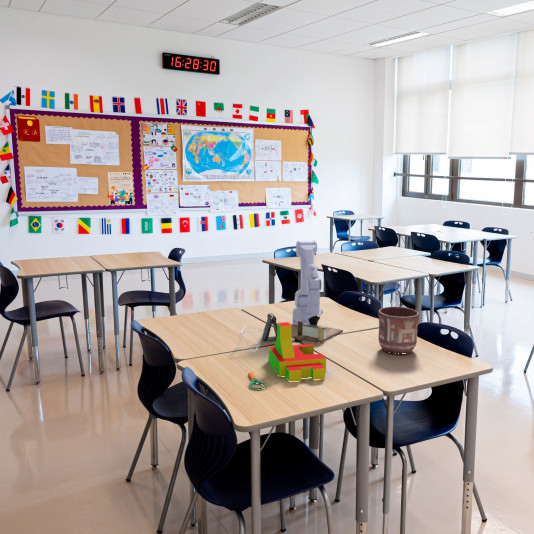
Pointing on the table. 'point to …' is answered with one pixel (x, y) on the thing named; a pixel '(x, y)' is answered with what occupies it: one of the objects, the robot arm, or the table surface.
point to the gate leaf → (312, 330)
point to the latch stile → (320, 333)
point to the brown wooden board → (329, 333)
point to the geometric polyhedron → (252, 335)
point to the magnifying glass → (255, 381)
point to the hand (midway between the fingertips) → (313, 331)
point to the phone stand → (268, 328)
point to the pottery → (398, 329)
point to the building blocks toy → (295, 357)
